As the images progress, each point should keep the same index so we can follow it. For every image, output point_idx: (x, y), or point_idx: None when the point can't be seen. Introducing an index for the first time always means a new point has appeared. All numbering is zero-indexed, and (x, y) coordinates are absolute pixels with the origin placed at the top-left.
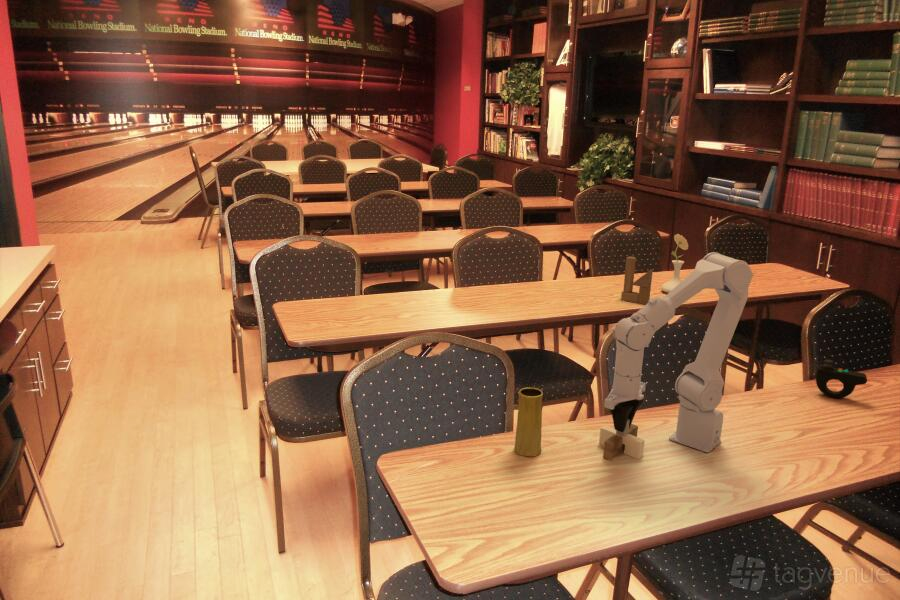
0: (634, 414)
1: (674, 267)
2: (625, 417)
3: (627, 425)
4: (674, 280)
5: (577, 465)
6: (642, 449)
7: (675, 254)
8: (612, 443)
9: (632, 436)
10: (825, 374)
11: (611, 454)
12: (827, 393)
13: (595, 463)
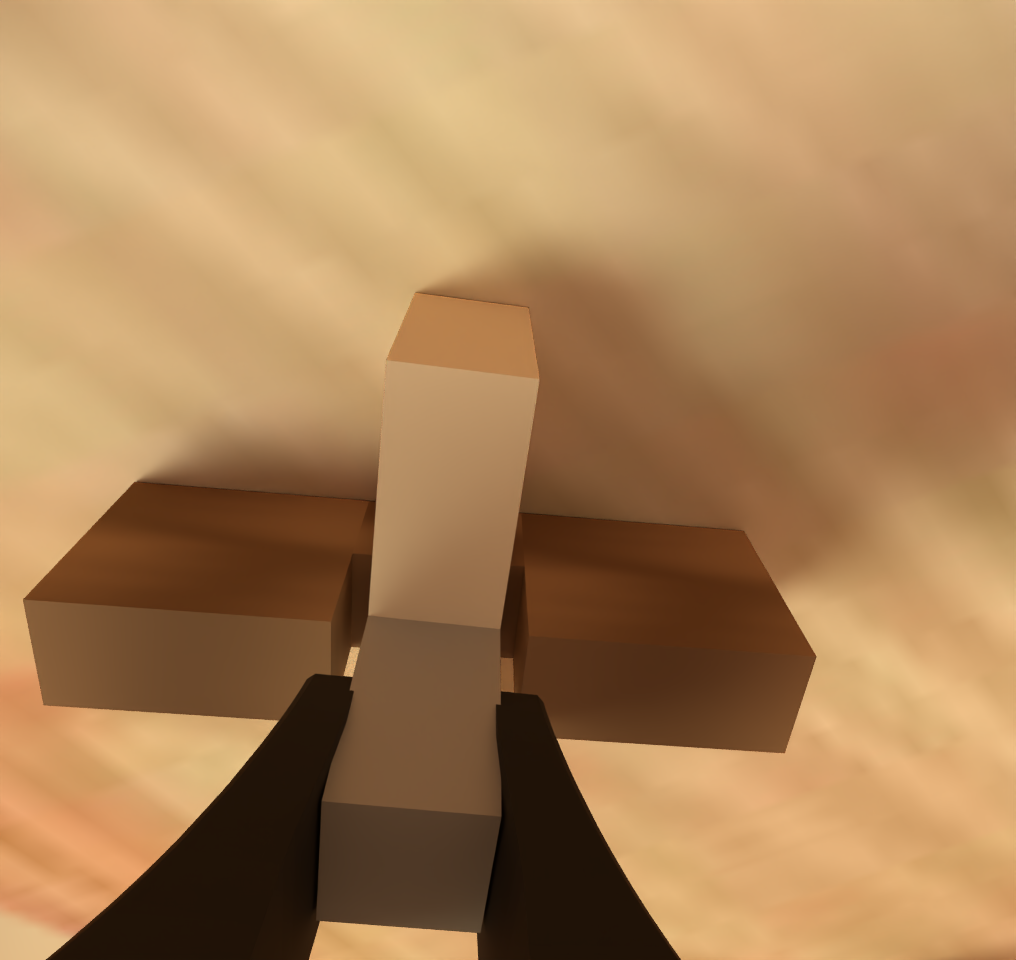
0: (198, 850)
1: None
2: (678, 957)
3: (409, 733)
4: None
5: (994, 717)
6: (434, 323)
7: None
8: (793, 665)
9: (404, 544)
10: None
11: (764, 572)
12: None
13: (878, 620)
